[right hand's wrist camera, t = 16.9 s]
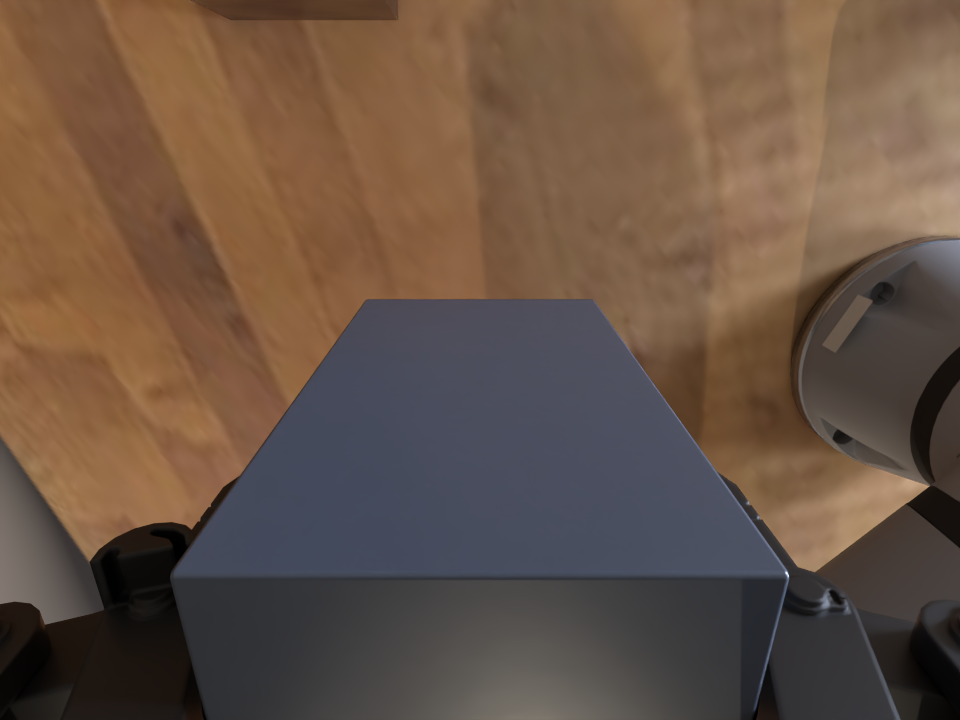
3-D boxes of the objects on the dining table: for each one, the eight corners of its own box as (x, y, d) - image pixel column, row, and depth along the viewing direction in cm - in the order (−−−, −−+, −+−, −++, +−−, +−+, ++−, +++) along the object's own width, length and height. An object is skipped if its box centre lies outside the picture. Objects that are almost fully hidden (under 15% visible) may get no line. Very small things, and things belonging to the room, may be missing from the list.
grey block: (594, 298, 15) (794, 574, 5) (579, 492, 17) (701, 926, 8) (365, 298, 15) (165, 574, 5) (380, 492, 17) (257, 926, 8)
